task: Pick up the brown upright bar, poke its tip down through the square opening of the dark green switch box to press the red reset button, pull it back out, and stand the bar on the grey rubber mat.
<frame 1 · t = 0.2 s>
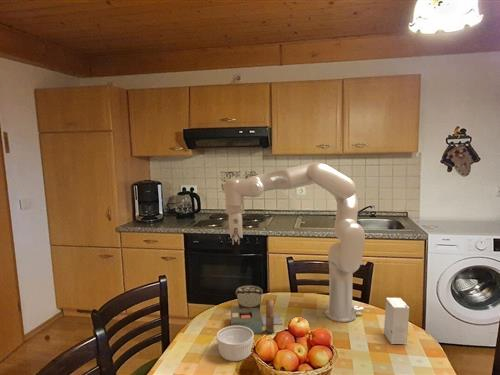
hand: (235, 250, 146), 31 cm above the table, tool pointing down, fingers open, 9 cm apart
ramekin: (235, 353, 127), on the table
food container: (250, 309, 161), on the table
switch box: (246, 326, 145), on the table
reset button: (245, 318, 145), point 3 cm above the table, slide at 0.0 cm
skincare box: (395, 340, 133), on the table
rest mat: (271, 320, 150), on the table
brown upright bar: (270, 333, 140), on the table
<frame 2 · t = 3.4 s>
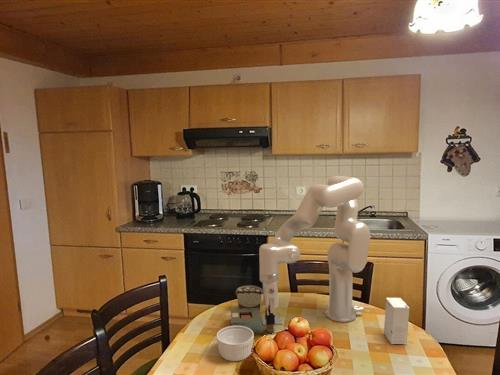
hand: (269, 321, 139), 5 cm above the table, tool pointing down, fingers closed on brown upright bar, 3 cm apart
brown upright bar: (270, 333, 140), on the table, touching gripper
everything else where it was.
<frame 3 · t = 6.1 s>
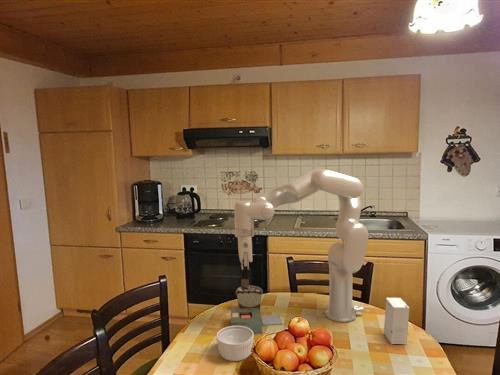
hand: (245, 276, 143), 21 cm above the table, tool pointing down, fingers closed on brown upright bar, 3 cm apart
brown upright bar: (245, 288, 143), point 16 cm above the table, touching gripper
everything else where it was.
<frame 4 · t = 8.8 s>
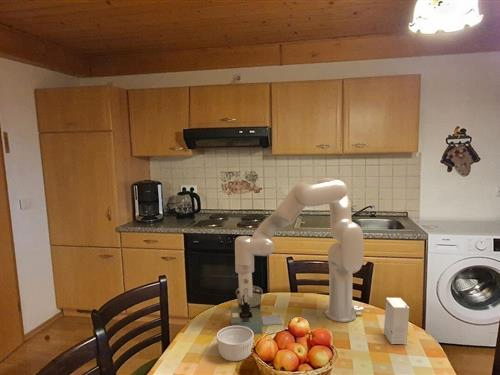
hand: (245, 311, 144), 7 cm above the table, tool pointing down, fingers closed on brown upright bar, 3 cm apart
reset button: (246, 323, 145), point 1 cm above the table, slide at 2.1 cm, touching brown upright bar
brown upright bar: (245, 322, 145), point 2 cm above the table, touching gripper, reset button
everything else where it was.
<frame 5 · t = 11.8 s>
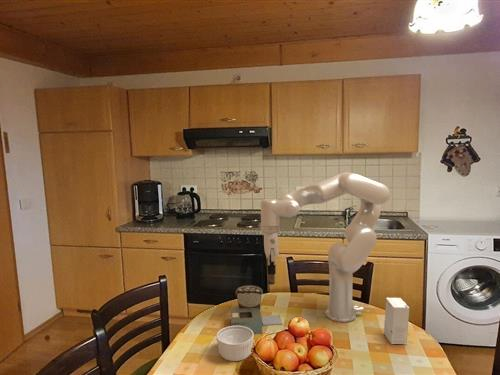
hand: (271, 272, 148), 21 cm above the table, tool pointing down, fingers closed on brown upright bar, 3 cm apart
reset button: (246, 323, 145), point 1 cm above the table, slide at 2.1 cm
brown upright bar: (271, 283, 148), point 16 cm above the table, touching gripper
everything else where it was.
when the fingers open (6 cm above the table, at t = 14.8 s): brown upright bar stays where it is, resting on rest mat.
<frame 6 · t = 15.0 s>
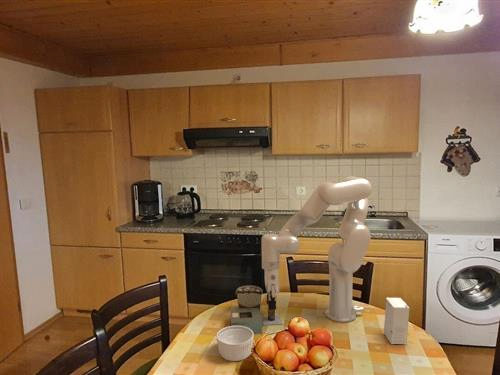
hand: (271, 306, 149), 6 cm above the table, tool pointing down, fingers open, 4 cm apart
brown upright bar: (271, 319, 150), point 1 cm above the table, touching rest mat
everything else where it was.
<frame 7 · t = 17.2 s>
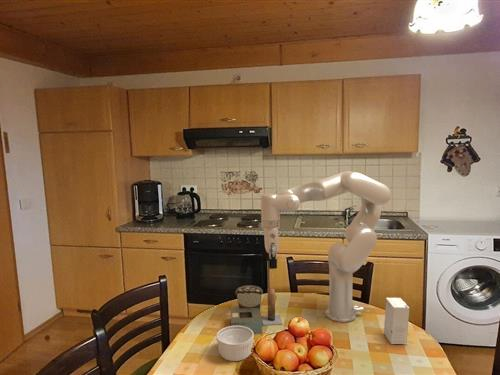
hand: (271, 264, 147), 24 cm above the table, tool pointing down, fingers open, 9 cm apart
nothing on the table moved.
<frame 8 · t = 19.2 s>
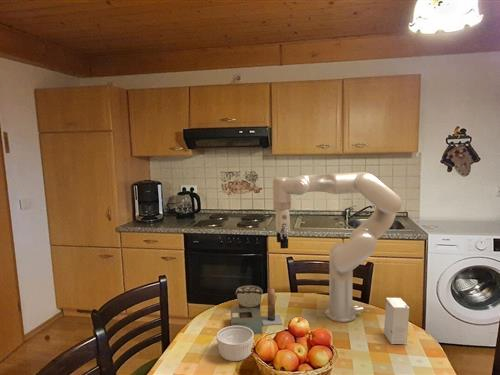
hand: (282, 245, 154), 30 cm above the table, tool pointing down, fingers open, 9 cm apart
nothing on the table moved.
at the end: reset button slide at 2.1 cm; brown upright bar inside the target area on the rest mat (0.1 cm from its centre), point 0.5 cm above the rest mat's base; the gripper is holding nothing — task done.
